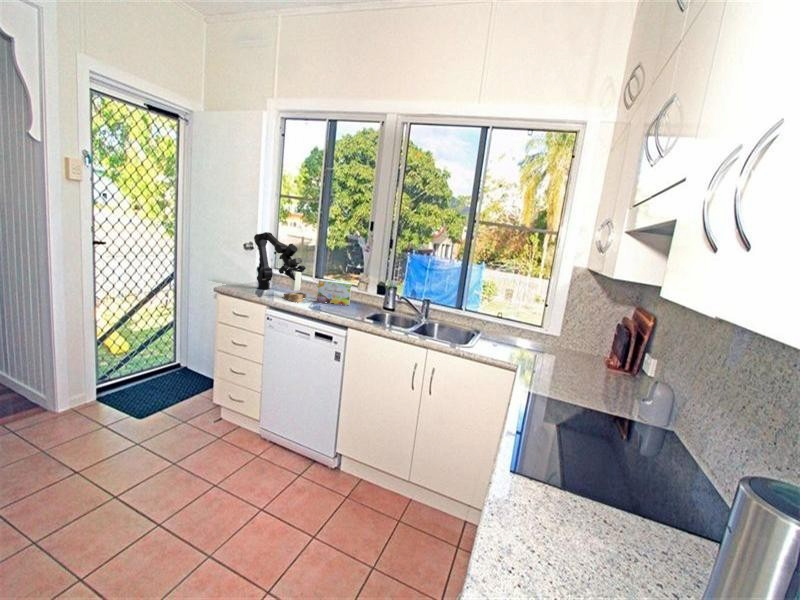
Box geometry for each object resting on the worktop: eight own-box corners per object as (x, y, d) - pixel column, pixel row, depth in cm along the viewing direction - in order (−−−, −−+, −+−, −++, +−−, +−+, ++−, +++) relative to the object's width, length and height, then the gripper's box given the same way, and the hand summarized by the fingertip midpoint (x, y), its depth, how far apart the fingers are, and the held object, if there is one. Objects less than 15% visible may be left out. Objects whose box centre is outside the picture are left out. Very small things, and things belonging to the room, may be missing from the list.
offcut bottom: (288, 301, 244) (289, 297, 244) (294, 300, 248) (295, 296, 248) (297, 303, 240) (297, 299, 240) (303, 302, 244) (303, 299, 244)
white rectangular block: (291, 289, 251) (292, 271, 248) (297, 289, 255) (298, 271, 253) (294, 290, 249) (295, 272, 247) (300, 290, 253) (301, 272, 251)
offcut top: (289, 297, 243) (289, 293, 243) (293, 296, 247) (293, 293, 247) (298, 299, 241) (298, 295, 240) (302, 298, 245) (302, 294, 244)
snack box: (316, 302, 249) (318, 279, 246) (318, 300, 254) (320, 278, 252) (348, 306, 250) (351, 283, 247) (349, 304, 255) (351, 282, 253)
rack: (283, 298, 249) (283, 293, 248) (299, 296, 260) (300, 292, 260) (289, 300, 245) (290, 295, 245) (306, 298, 257) (306, 294, 257)
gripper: (283, 253, 242) (293, 272, 238) (305, 253, 258) (315, 272, 254) (274, 263, 247) (284, 283, 244) (296, 263, 263) (305, 281, 259)
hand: (297, 279), depth 250 cm, fingers closed on white rectangular block, 5 cm apart
